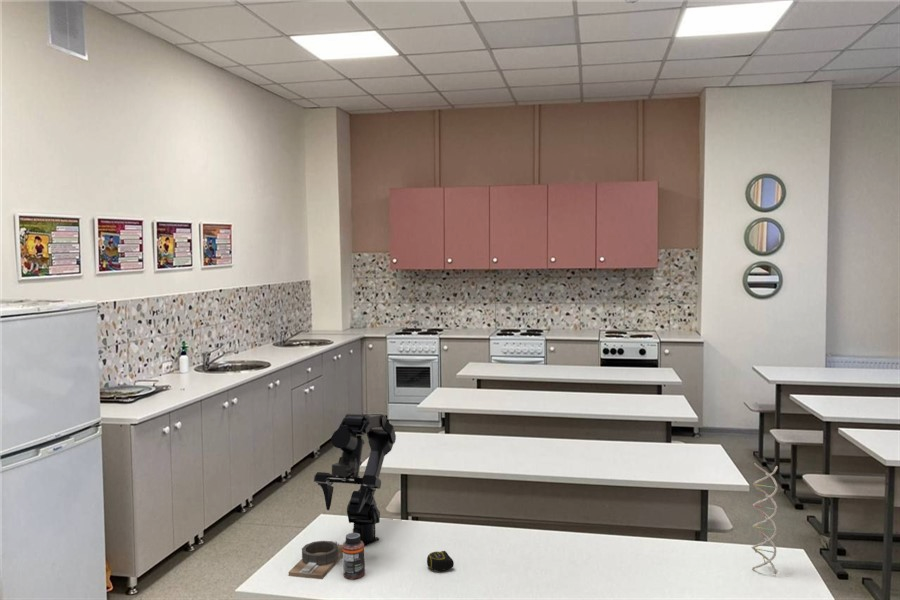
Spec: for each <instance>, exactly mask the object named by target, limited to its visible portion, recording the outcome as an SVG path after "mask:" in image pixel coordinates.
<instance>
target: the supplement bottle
mask: <svg viewBox="0 0 900 600" xmlns="http://www.w3.org/2000/svg"><path fill="white" fill-rule="evenodd" d="M342 545H343V556H342V569H343V571H342V572H343V573H342V574H343V577H345V578H346V579H349V580H356V579H360V578H362V577H364V575H365V572H366V569H365V567H366V566H365V565H366V564H365V563H366V561H365V546H364V543H363V542H362V541H361V540H360V534H359V533H353V532H350V533H347V534H345V541H344V542H343V544H342Z"/></svg>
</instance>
